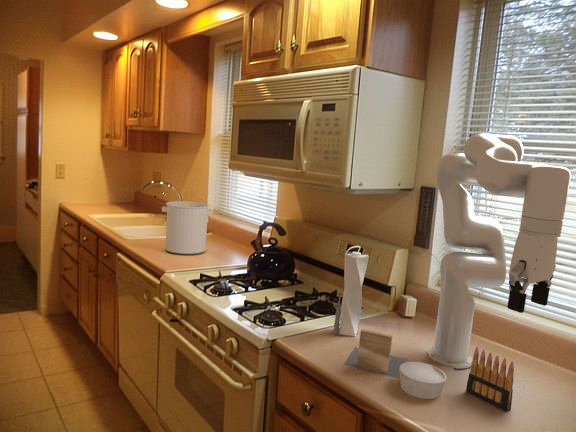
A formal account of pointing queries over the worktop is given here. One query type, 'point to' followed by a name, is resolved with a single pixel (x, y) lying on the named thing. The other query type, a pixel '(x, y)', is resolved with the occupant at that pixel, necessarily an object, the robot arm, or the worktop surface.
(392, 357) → the mat
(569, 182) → the robot arm
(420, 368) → the ramekin
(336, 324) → the skyscraper
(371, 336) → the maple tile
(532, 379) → the worktop surface
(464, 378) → the worktop surface
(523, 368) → the worktop surface
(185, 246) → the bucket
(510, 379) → the ammunition clip
